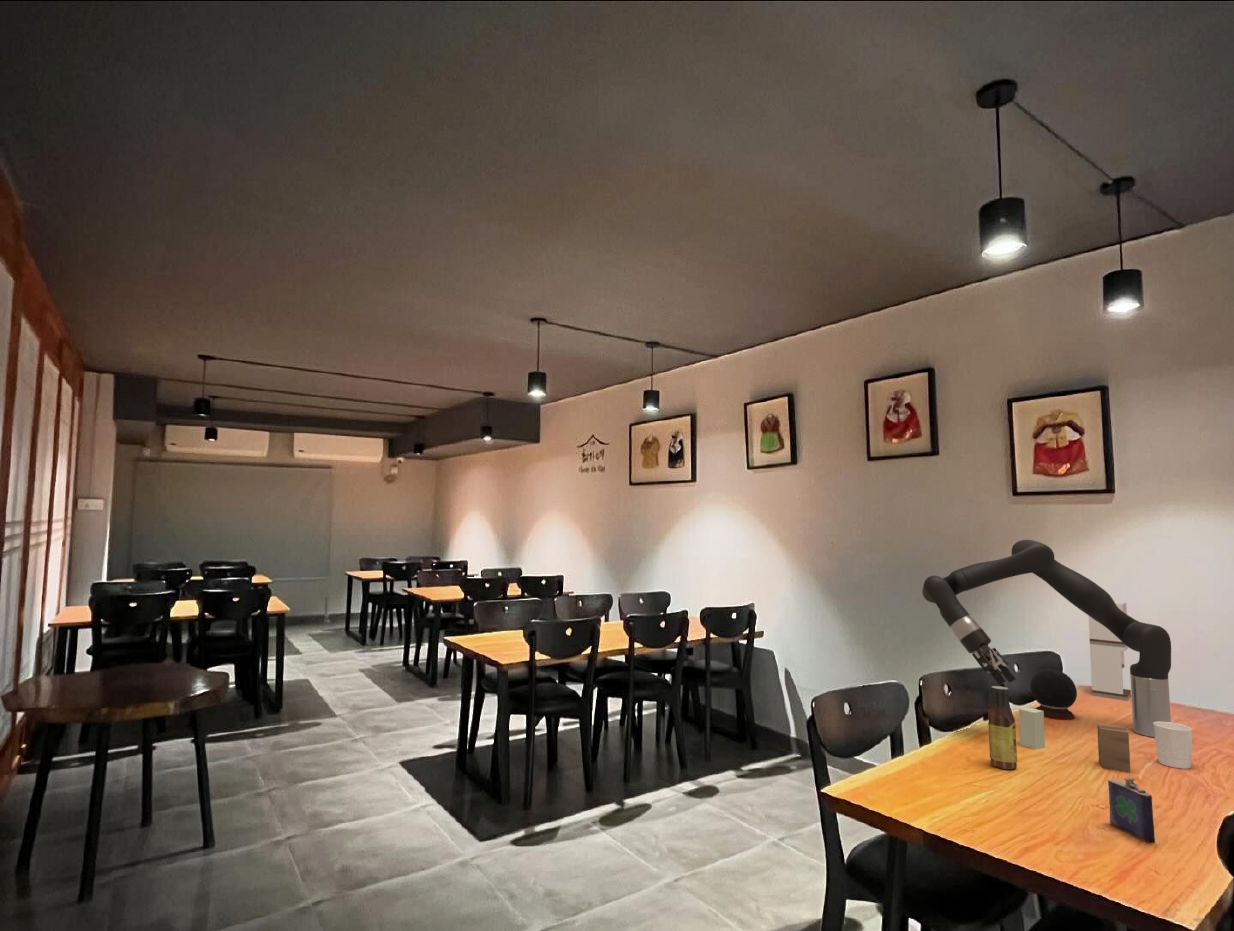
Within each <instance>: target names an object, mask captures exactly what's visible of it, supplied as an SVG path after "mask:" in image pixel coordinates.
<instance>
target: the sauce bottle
mask: <svg viewBox="0 0 1234 931" xmlns="http://www.w3.org/2000/svg"><path fill="white" fill-rule="evenodd" d="M1009 691H1010V690H1009V688H1008V687H1006V686H1000V685H992V686H991V687H990V692H991V696H992V701H991V703H992V705H991V707H990V708H989V710H988V714H987V716H988V718H987V719H988V723H987V727H988V746H989V759H990V764H991V765H992V766H993V767H996V768H999V769H1003V770H1015V769H1017V767H1018V763H1017V762H1018V749H1017V746H1018V745H1017V732H1016V731H1017V730H1016V727H1017V726H1016V719H1015V717H1014V714H1013V711H1012V708H1011V706H1010V703H1009V694H1010V692H1009Z"/></svg>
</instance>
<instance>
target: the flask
mask: <svg viewBox="0 0 1234 931" xmlns="http://www.w3.org/2000/svg"><path fill="white" fill-rule="evenodd" d="M1136 780H1137V779H1136V778H1133V777H1127V778H1126V777H1124V778H1123V781H1125V782H1123V781H1121V780H1117V779H1114V778H1113V779H1111V778H1110V779H1108V780H1107V781H1108V782H1107V785H1108V798H1109V799H1108V800H1109V823H1110V824H1111V825H1112V826H1113V827H1114V828H1118V829H1120V830H1122V831H1123V832H1125V833H1126V834H1131V835H1132V836H1133V837H1136V838H1137V839H1139V840H1142V841H1143V842H1146V843H1149V844H1155V843H1156V839H1155V838H1156V837H1155V824H1154V810H1153V796H1152V794H1150V793H1149V792H1148V791H1146V790H1145V789H1144V788H1139V785H1138V784H1137V783H1135V782H1134V781H1136Z"/></svg>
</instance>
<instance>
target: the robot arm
mask: <svg viewBox="0 0 1234 931" xmlns="http://www.w3.org/2000/svg"><path fill="white" fill-rule="evenodd" d="M1010 552H1011V555H1010V556H1007V557H1004V558H1000V559H995V560H989V561H983V562H977V563H973V564H970V565H967V566H964V567H961V568H958V569H956V570H953V571H952V572H950V574H948V575H947V576H945V577H941V576H939V575H930V576H928V577H927V578H925V580H924V582H923V586H922V596H923V598H924V600H926V601H927V602H928V603H929V602H930V603H932V604H935V605H936V606H937V608H938V609H939V613H940V616H941V617H942V619H943V620H944V622H946V624H947V625H948V627H950V629H951V632H952V633H953V635H954V636H955V637H956V638H957V640H958V641H959V642H960V644H961V645H962V646H963V648H965V650H966V651H967V652H968V653H969V654H971V655H972V657H973V658H974V659H975V661H976V662H977V663H978V665H979V666H980V667H981V669H982V670H983V672H985V673H988V674H989V675H991V677H992V678H993V679H994V680H995V682H996V683H997V684H998V686H1000V685H1003V684H1004V683H1006V681H1008V683H1012V682H1014V681H1016V680H1017V679H1016V678H1017V677H1016V676H1015V675H1014V674H1013V673H1012V672H1011V670H1010V669H1009V663H1008V661H1006V659H1005V658H1004V657H1003V656H1002V655H1001V653H1000V652H999V651H998V649H996V647H993V648H991V647H989V644H990V643H991V642H992V639H991V638H990V637H989V635H988V634H987V633H986V631H984V629H983V628H982V626H980V624H979V623H978V622H977V621H976V619H975V618H973V617H972V616H971V615H970V613H969V612H968V610H967V609H966V608H965V607H964V606H963V604H961V602H960V601H959V599H958V597H957V596H958V595H959V594H961V593H964V592H967V591H970V590H974V589H976V588H980V587H981V586H985V585H988V584H990V583H994V582H996V581H1001V580H1005V579H1007V578H1013V577H1016V576H1021V575H1022V576H1023V575H1027V574H1034V575H1035V576H1036V577H1038V578H1040V579H1041V580H1042V581H1044V582H1045V583H1046V584H1048V585H1049V586H1050V587H1051V588H1052V589H1054V591H1056V592H1057V593H1059V595H1061V597H1063V598H1064V599H1065V600H1067V601H1068V602H1069V603H1071V604H1072V605H1073V606H1075V608H1077V609H1079V611H1081V612H1083V613H1085V615H1087V616H1088V617H1089V616H1090V617H1091V618H1093V619H1094V620H1096V621H1097V622H1099V623H1100V624H1102V625H1103V626H1105V627H1106V628H1107V629H1108V630H1110V631H1111V632H1112V633H1113V634H1114V635H1115V636H1116V637H1117V638H1118V639H1120V640H1121V641H1122V642H1123V643H1124V644H1125V645H1126V646H1128V647H1129V648H1128V649H1131V650H1132V651H1135V652H1138V654H1139V655H1138V656H1139V658H1138V661H1137V662H1136V663H1133V664H1130V666H1129V676H1130V677H1129V678H1130V690H1131V696H1130V698H1131V711H1132V712H1131V714H1132V718H1131V719H1132V731H1133V732H1134V733H1137V734H1138V735H1142V736H1146V737H1150V738H1155V734H1154V725H1153V723H1154V722H1171V721H1172V719H1171V704H1170V703H1171V700H1170V687H1169V686H1170V684H1169V674H1170V671H1171V668H1172V641H1171V637H1170V634H1169V633H1168V631H1167V630H1166V629H1165V628H1163V627H1162V626H1159V625H1155V624H1152V623H1151V624H1150V623H1145V622H1142V621H1141V622H1140V621H1139V620H1137V619H1135V618H1134V617H1132V616H1130V615H1128V614H1125V613H1124V612H1123V611H1121V610H1120V609H1119V608H1118V607H1117V605H1116V604H1115V603H1116V602H1115V600H1114V599H1113V597H1112V596H1111V595H1110V594H1109V593H1108V592H1107V591H1106V590H1105V589H1104V588H1102V587H1101V586H1100V585H1098V584H1097V583H1095V582H1094V581H1093V580H1091V579H1089V578H1088V577H1086V576H1084V575H1083V574H1081V573H1079V572H1077V571H1075V570H1074V569H1071V568H1069V567H1067V566H1066V565H1064V564H1062V563H1061V562H1059V561H1058V560H1056V559H1055V553H1054V551H1053V549H1052V548H1051V547H1050V546H1049V545H1047V544H1044V543H1042V542H1039V541H1037V540H1033V539H1022V540H1021V539H1020V540H1019V541H1016V542H1015V543H1014V544H1013V545H1012V548H1011V550H1010ZM1171 723H1172V722H1171Z"/></svg>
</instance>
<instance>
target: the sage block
mask: <svg viewBox="0 0 1234 931" xmlns="http://www.w3.org/2000/svg"><path fill="white" fill-rule="evenodd" d="M1018 730H1019V746H1022V747H1027V748H1029V749H1033V750H1040V749H1045V748H1046V737H1045V717H1044V711H1041V710H1037V709H1036V708H1032V707H1027V706H1026V707H1022V708H1018Z"/></svg>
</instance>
